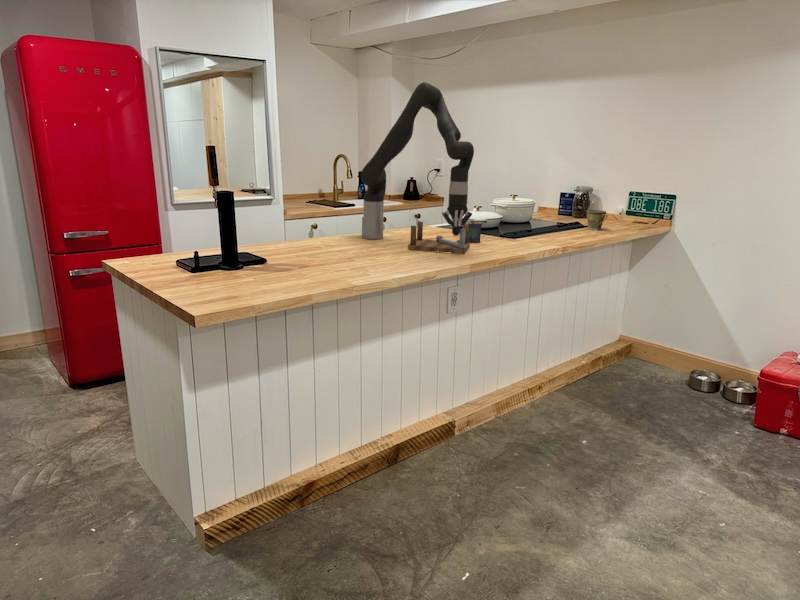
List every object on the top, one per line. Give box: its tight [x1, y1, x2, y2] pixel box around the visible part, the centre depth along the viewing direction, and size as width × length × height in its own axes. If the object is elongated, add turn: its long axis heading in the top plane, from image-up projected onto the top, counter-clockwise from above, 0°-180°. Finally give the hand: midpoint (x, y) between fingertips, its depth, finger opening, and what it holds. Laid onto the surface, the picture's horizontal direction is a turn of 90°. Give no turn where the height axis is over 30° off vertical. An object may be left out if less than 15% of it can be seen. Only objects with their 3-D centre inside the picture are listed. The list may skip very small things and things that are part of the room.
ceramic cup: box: [586, 209, 608, 231], centre depth 300 cm, size 13×10×10 cm
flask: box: [461, 218, 482, 244], centre depth 256 cm, size 9×3×11 cm, turn 109°
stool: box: [407, 220, 471, 255], centre depth 241 cm, size 24×16×10 cm, turn 75°
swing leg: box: [435, 228, 466, 248], centre depth 239 cm, size 18×3×8 cm, turn 32°
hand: (455, 235), depth 231 cm, fingers closed
